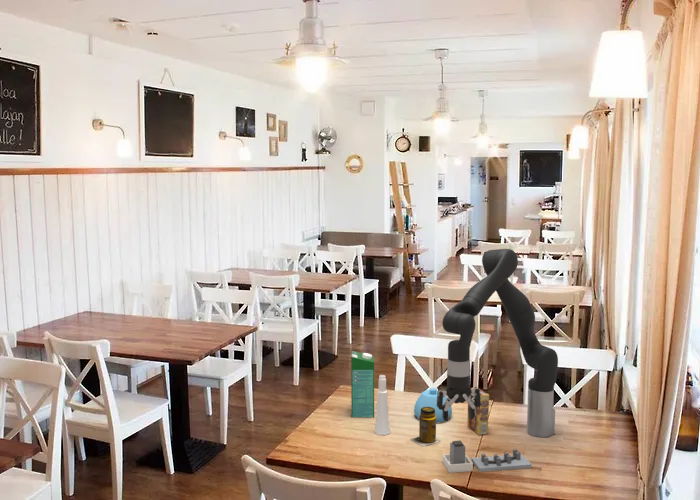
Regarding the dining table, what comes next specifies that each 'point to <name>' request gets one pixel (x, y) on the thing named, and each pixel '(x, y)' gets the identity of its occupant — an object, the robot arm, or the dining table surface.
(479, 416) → the candy box
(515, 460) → the board
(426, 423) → the condiment
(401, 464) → the dining table surface
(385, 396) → the cosmetic bottle
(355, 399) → the milk carton
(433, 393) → the sugar bowl
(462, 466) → the white square tray
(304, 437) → the dining table surface
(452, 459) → the block
